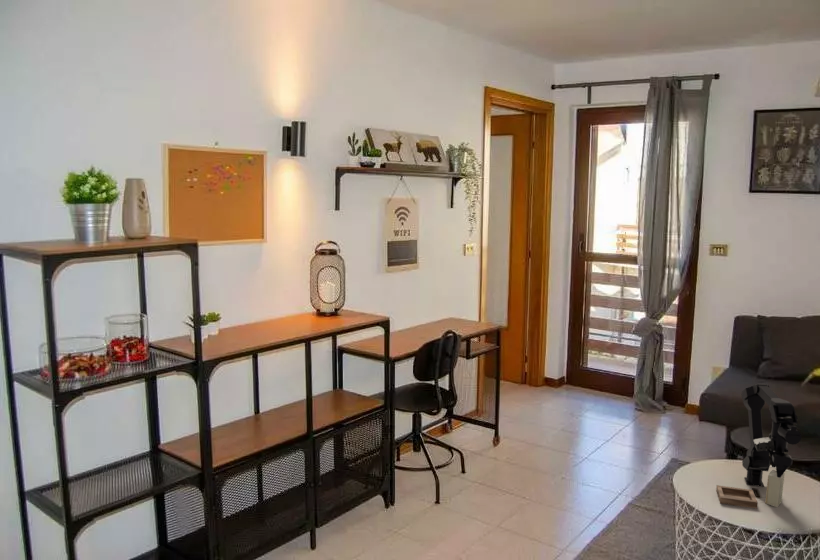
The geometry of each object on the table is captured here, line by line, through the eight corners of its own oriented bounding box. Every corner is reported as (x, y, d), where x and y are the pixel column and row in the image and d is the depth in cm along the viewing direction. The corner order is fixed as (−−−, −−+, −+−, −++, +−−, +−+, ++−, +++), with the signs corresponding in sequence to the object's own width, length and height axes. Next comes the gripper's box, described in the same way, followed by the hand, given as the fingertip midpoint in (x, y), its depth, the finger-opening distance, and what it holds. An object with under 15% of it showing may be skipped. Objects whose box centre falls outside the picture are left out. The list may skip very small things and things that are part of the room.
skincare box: (769, 498, 259) (772, 469, 257) (782, 502, 256) (785, 472, 254) (764, 503, 254) (767, 474, 252) (777, 507, 251) (780, 477, 249)
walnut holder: (716, 490, 265) (716, 485, 264) (751, 495, 261) (752, 489, 260) (720, 503, 254) (720, 497, 254) (757, 508, 250) (757, 502, 250)
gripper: (752, 422, 262) (748, 459, 264) (761, 440, 244) (757, 479, 247) (783, 426, 258) (779, 463, 261) (794, 444, 241) (790, 484, 243)
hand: (775, 472), depth 253 cm, fingers open, 9 cm apart
